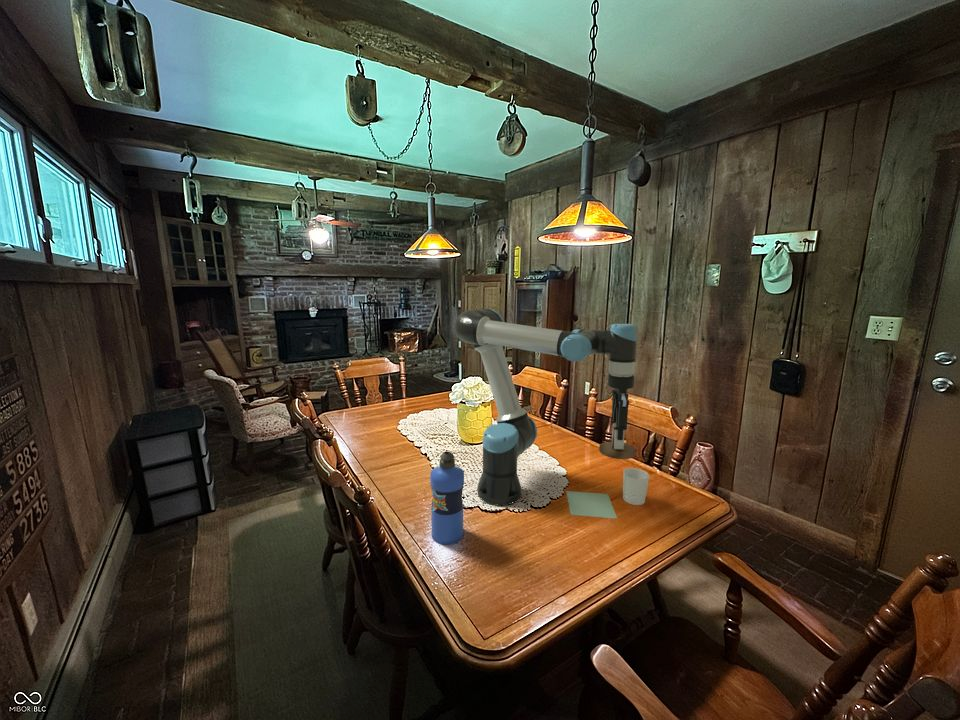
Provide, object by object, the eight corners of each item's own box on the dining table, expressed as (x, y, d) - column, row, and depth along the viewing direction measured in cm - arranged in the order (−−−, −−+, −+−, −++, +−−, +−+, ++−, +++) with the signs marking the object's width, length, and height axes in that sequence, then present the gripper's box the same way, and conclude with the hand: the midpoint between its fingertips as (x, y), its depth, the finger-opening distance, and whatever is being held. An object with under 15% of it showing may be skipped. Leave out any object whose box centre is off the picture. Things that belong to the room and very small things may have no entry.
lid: (602, 458, 115) (603, 429, 113) (596, 444, 125) (597, 417, 124) (639, 460, 113) (641, 431, 111) (631, 445, 124) (632, 419, 122)
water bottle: (447, 520, 113) (446, 442, 108) (470, 533, 107) (471, 451, 103) (424, 535, 106) (422, 453, 101) (447, 550, 100) (447, 463, 96)
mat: (570, 516, 116) (570, 514, 116) (566, 492, 130) (566, 490, 129) (617, 520, 114) (617, 518, 114) (607, 495, 128) (607, 494, 128)
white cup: (619, 503, 123) (622, 475, 121) (622, 492, 130) (625, 465, 128) (645, 510, 120) (648, 481, 118) (647, 498, 127) (650, 471, 125)
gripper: (641, 380, 106) (636, 457, 110) (628, 369, 122) (624, 437, 126) (613, 379, 107) (609, 456, 112) (604, 368, 123) (601, 436, 127)
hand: (617, 446), depth 119 cm, fingers closed on lid, 3 cm apart
